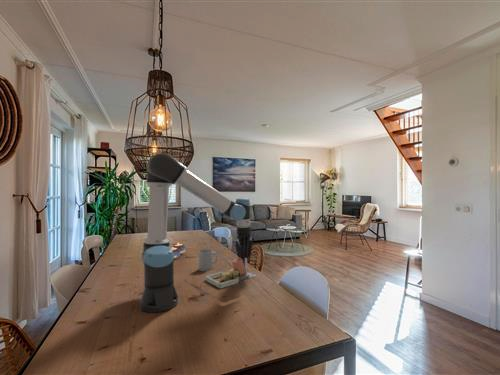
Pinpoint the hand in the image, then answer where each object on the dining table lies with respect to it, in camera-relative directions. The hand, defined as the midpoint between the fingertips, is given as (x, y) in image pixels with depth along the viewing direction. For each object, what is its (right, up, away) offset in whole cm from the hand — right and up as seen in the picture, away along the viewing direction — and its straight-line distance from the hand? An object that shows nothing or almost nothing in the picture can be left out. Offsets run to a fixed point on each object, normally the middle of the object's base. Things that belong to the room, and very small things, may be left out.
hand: (244, 269), depth 138 cm
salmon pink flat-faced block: (-2, -2, -1) cm, 3 cm away
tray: (-12, -4, -10) cm, 16 cm away
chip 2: (-6, -3, -5) cm, 8 cm away
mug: (-22, -5, +15) cm, 27 cm away
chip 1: (-9, -3, -7) cm, 12 cm away
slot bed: (-2, -4, -2) cm, 5 cm away
